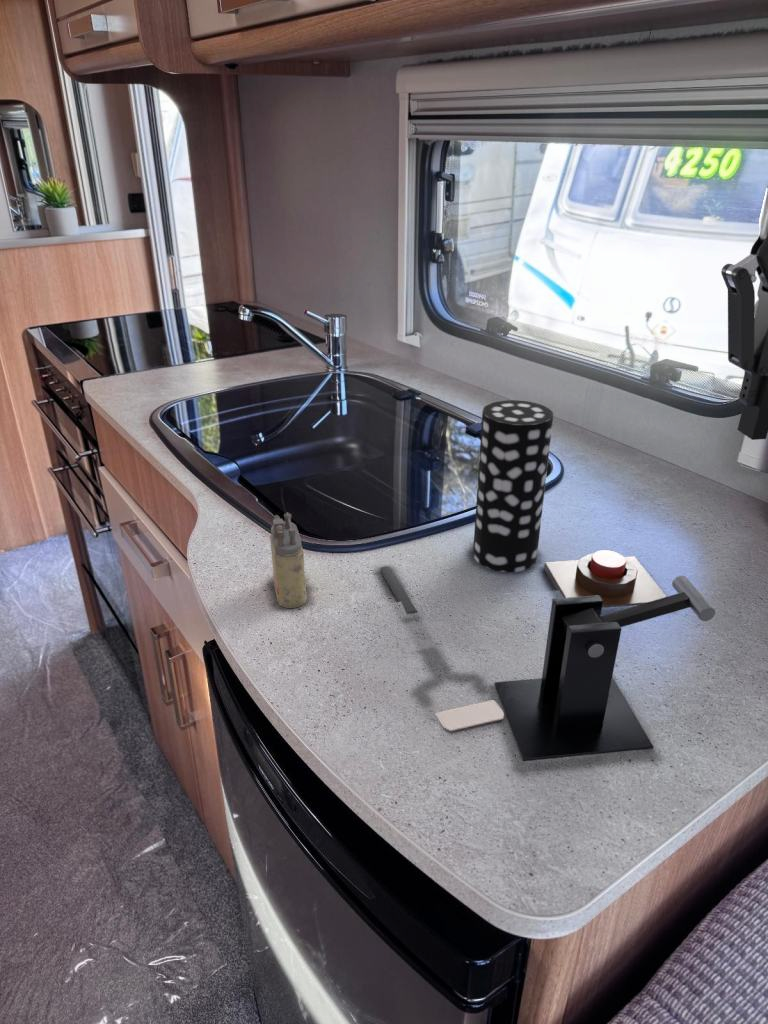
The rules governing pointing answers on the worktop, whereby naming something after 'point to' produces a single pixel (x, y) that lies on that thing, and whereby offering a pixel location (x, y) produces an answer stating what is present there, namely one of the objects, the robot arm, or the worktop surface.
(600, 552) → the button
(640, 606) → the lever
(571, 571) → the button block
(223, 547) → the worktop surface
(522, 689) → the bracket
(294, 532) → the lighter
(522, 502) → the white-spotted black cylinder
